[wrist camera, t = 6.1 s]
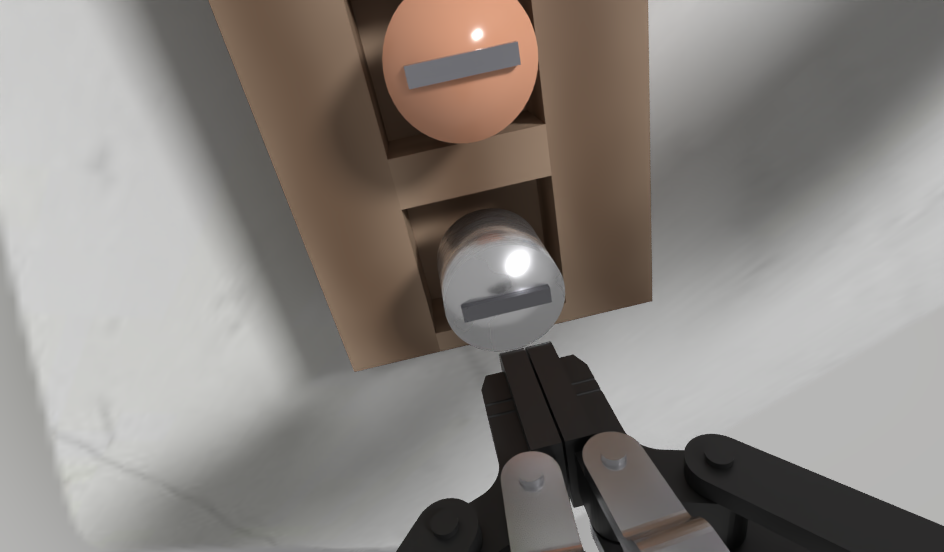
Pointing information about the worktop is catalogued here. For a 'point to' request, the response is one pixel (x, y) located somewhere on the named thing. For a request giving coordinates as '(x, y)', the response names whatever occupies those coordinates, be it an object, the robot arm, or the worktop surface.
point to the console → (449, 161)
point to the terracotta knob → (460, 66)
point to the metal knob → (498, 281)
